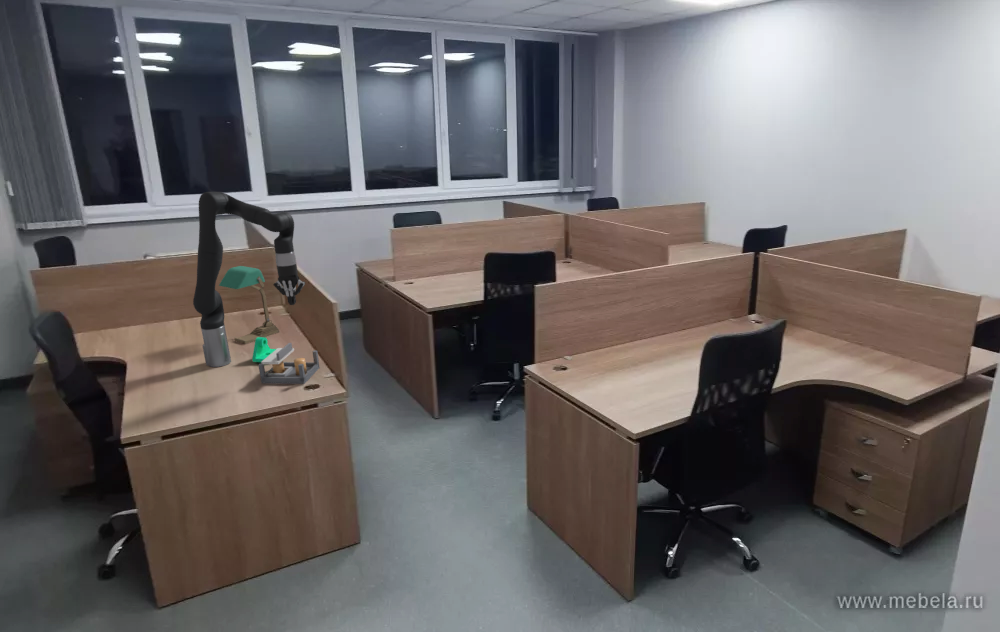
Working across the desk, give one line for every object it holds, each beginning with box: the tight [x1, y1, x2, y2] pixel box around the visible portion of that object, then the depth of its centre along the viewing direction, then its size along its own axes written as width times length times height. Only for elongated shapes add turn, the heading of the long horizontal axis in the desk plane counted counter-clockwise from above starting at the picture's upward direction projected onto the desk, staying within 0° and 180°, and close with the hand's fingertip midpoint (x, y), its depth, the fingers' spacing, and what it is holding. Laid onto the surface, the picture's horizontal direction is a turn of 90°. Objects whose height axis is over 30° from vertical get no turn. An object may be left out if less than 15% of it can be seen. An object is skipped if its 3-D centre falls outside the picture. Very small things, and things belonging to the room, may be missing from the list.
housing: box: [258, 350, 320, 385], centre depth 241 cm, size 18×16×8 cm
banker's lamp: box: [218, 265, 280, 345], centre depth 282 cm, size 16×21×35 cm
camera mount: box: [251, 337, 277, 363], centre depth 258 cm, size 12×8×10 cm, turn 169°
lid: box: [260, 342, 295, 365], centre depth 239 cm, size 7×15×4 cm, turn 175°
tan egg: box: [271, 360, 285, 373], centre depth 241 cm, size 4×4×6 cm
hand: (292, 304), depth 238 cm, fingers closed
